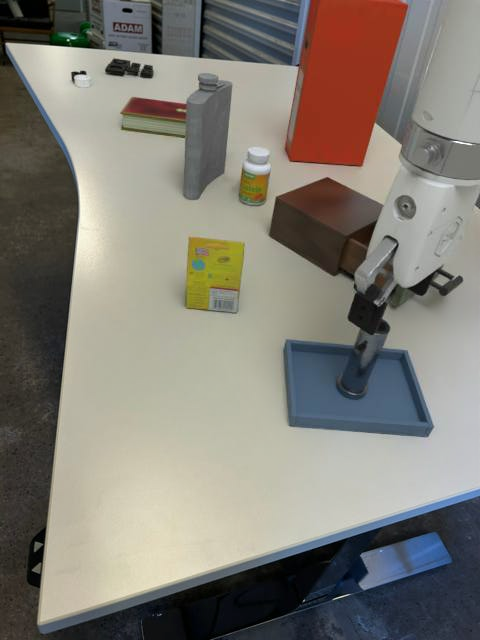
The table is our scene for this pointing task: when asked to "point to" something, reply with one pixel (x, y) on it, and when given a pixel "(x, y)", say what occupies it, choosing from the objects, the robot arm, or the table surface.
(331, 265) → the cabinet
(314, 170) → the table surface
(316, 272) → the table surface
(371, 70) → the file binder
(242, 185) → the supplement bottle
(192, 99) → the hip flask
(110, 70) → the black white parts set
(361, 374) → the grey rod with base
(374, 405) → the tray
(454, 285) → the drawer
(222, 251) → the crayon box
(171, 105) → the hardcover book
